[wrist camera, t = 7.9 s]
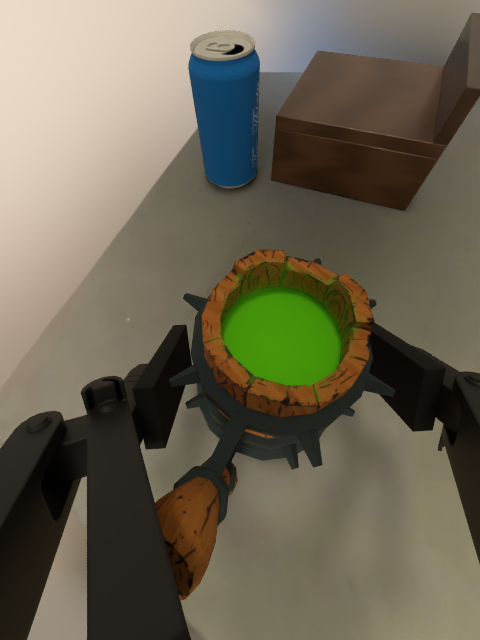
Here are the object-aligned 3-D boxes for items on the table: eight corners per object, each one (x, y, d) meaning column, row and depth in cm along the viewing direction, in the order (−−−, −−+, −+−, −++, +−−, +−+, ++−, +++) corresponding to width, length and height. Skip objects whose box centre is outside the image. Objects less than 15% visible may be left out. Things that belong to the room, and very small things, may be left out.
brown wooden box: (270, 179, 32) (280, 61, 22) (306, 114, 38) (326, 0, 29) (404, 210, 29) (484, 89, 19) (419, 134, 35) (484, 13, 25)
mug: (235, 302, 21) (226, 168, 11) (355, 355, 19) (483, 250, 9) (140, 457, 16) (-37, 476, 6) (286, 554, 14) (398, 844, 4)
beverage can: (246, 197, 31) (245, 63, 20) (198, 186, 32) (172, 54, 21) (263, 165, 33) (270, 32, 23) (217, 156, 35) (203, 25, 24)
